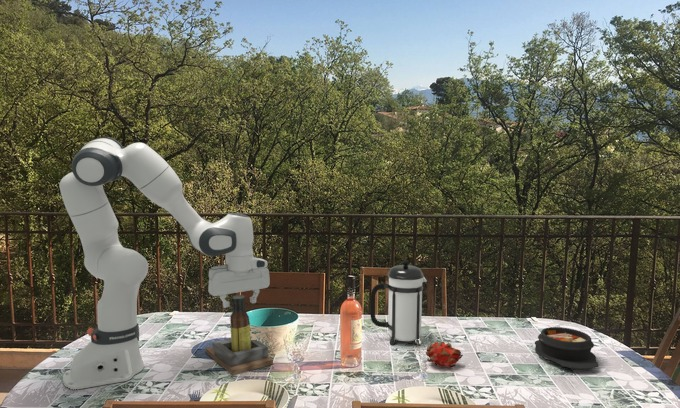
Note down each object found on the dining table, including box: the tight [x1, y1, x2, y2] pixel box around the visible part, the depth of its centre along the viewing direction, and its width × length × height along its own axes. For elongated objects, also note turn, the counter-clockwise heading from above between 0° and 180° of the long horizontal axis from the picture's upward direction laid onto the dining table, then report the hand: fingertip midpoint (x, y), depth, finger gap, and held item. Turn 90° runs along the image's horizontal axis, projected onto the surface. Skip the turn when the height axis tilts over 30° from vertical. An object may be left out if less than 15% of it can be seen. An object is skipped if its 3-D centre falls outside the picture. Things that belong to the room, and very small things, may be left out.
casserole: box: [534, 326, 600, 370], centre depth 162 cm, size 25×19×8 cm
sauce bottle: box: [229, 294, 251, 353], centre depth 159 cm, size 6×6×20 cm
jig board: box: [205, 337, 274, 376], centre depth 162 cm, size 14×22×5 cm, turn 37°
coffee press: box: [369, 259, 428, 346], centre depth 177 cm, size 17×16×30 cm
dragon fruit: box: [425, 341, 464, 369], centre depth 156 cm, size 8×8×12 cm
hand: (240, 304), depth 159 cm, fingers open, 8 cm apart
